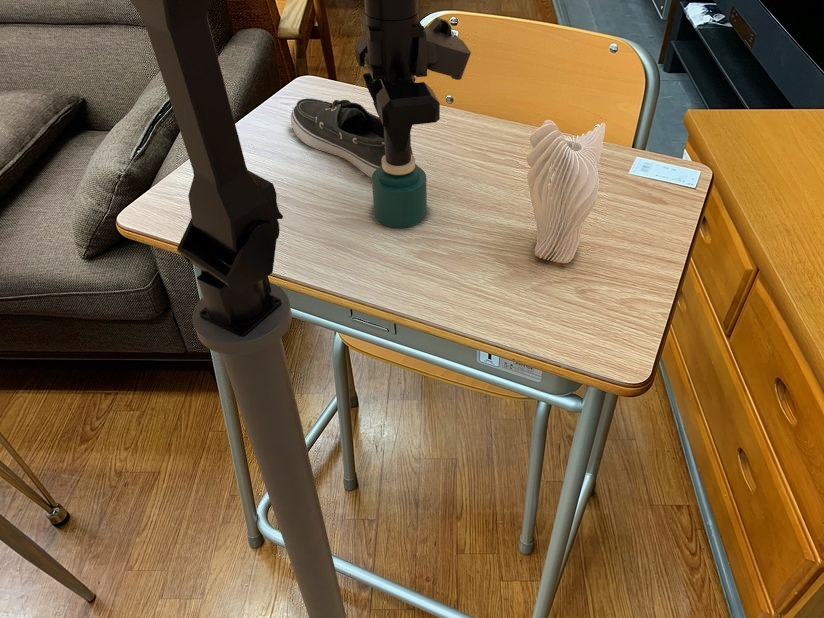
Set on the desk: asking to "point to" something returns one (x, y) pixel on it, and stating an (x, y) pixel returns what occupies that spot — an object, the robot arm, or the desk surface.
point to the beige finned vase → (563, 187)
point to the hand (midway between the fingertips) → (397, 144)
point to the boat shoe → (341, 131)
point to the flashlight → (394, 157)
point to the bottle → (399, 194)
